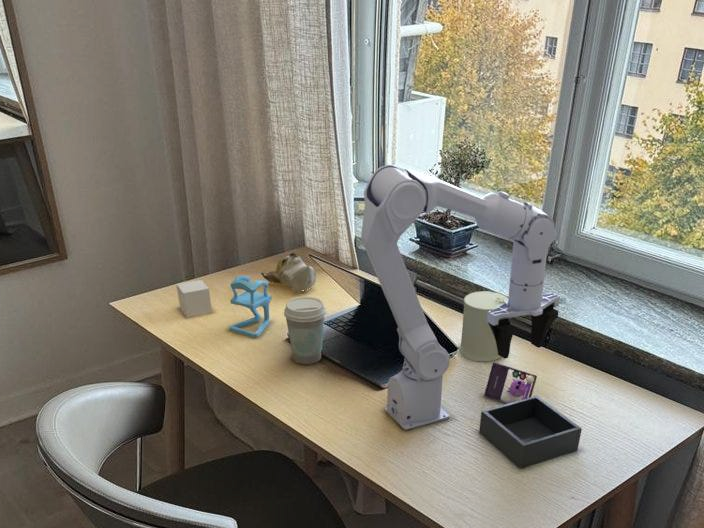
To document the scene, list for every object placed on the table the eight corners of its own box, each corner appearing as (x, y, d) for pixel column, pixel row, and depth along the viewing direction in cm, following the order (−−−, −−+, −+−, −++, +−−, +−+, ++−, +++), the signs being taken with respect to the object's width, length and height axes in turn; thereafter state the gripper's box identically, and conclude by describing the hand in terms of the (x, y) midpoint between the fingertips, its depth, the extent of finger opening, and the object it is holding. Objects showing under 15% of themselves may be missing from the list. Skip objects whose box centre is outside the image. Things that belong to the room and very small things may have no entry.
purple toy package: (491, 362, 145) (534, 376, 141) (502, 360, 149) (545, 374, 145) (482, 396, 148) (524, 411, 143) (493, 394, 152) (535, 408, 147)
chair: (278, 324, 176) (275, 273, 168) (256, 338, 170) (251, 286, 163) (251, 317, 179) (247, 266, 172) (228, 330, 173) (223, 279, 166)
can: (502, 363, 159) (509, 308, 152) (457, 359, 161) (462, 305, 154) (504, 343, 166) (510, 290, 159) (461, 340, 168) (465, 287, 161)
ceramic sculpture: (289, 264, 181) (256, 250, 191) (292, 300, 186) (260, 285, 196) (326, 255, 186) (292, 242, 196) (328, 290, 191) (295, 275, 201)
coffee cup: (280, 363, 160) (276, 309, 153) (297, 346, 167) (294, 293, 160) (317, 370, 158) (315, 315, 151) (334, 352, 164) (332, 298, 157)
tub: (520, 468, 129) (523, 446, 126) (478, 432, 138) (481, 410, 135) (577, 451, 133) (582, 428, 130) (533, 417, 142) (537, 395, 139)
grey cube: (179, 308, 184) (176, 284, 180) (204, 303, 186) (201, 279, 182) (187, 317, 179) (183, 293, 176) (212, 312, 181) (209, 288, 178)
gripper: (507, 297, 128) (501, 370, 136) (575, 277, 133) (565, 349, 142) (481, 283, 133) (477, 354, 141) (548, 265, 139) (539, 334, 147)
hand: (519, 350), depth 142 cm, fingers open, 7 cm apart
